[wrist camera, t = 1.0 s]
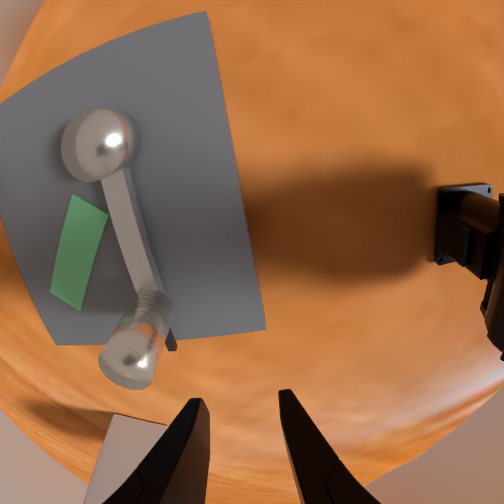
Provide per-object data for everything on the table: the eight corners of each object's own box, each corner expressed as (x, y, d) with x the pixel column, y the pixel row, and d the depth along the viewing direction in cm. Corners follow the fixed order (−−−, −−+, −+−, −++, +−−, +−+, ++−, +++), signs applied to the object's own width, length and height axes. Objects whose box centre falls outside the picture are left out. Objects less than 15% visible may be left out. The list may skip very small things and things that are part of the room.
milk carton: (114, 411, 29) (71, 541, 11) (169, 424, 29) (143, 565, 12) (123, 438, 32) (93, 550, 14) (172, 450, 32) (153, 568, 15)
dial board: (209, 21, 15) (205, 9, 13) (264, 314, 23) (266, 331, 21) (-4, 117, 16) (-20, 118, 14) (64, 333, 24) (55, 346, 22)
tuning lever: (80, 122, 15) (5, 127, 8) (134, 101, 15) (70, 89, 8) (151, 345, 21) (125, 414, 15) (199, 342, 21) (184, 416, 15)
